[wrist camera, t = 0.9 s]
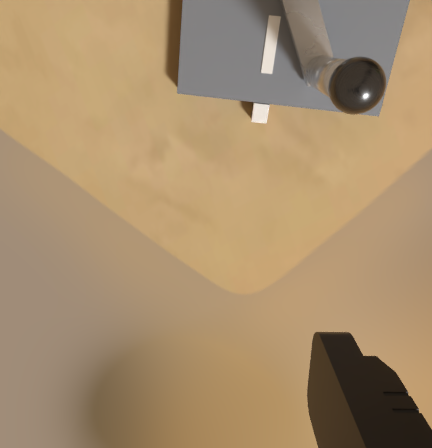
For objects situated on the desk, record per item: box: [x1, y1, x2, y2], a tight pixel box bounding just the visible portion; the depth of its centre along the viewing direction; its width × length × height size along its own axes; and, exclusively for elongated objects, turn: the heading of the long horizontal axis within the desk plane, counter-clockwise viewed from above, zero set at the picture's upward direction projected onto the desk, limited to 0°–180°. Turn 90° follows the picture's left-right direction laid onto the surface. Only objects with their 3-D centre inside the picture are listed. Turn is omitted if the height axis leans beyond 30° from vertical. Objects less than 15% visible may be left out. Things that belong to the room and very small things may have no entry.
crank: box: [280, 0, 386, 114], centre depth 19 cm, size 9×3×10 cm, turn 22°
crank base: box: [177, 0, 410, 124], centre depth 23 cm, size 13×13×4 cm
